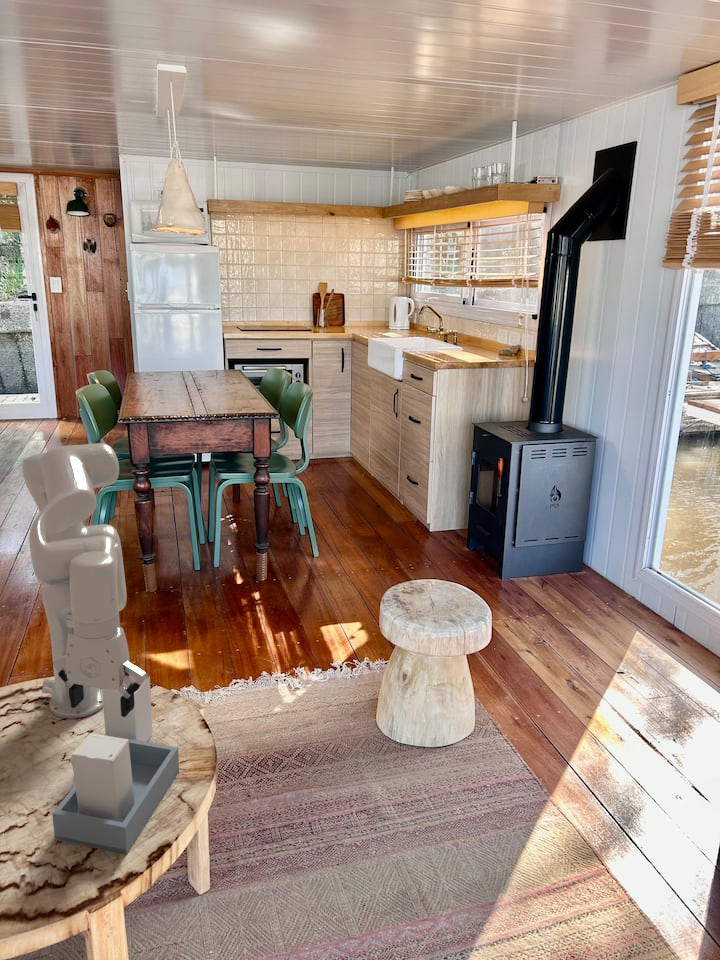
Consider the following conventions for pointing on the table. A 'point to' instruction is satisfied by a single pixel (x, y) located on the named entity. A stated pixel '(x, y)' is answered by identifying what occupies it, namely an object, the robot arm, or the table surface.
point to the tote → (150, 783)
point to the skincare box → (103, 777)
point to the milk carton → (137, 720)
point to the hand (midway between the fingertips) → (102, 707)
